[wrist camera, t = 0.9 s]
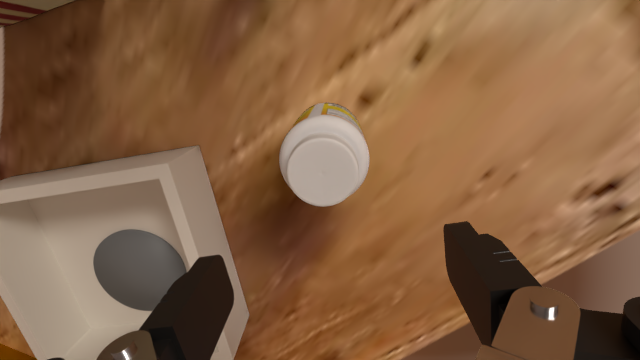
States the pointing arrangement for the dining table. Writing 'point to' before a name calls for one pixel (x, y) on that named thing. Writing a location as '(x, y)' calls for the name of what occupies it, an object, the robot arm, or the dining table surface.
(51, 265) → the box
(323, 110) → the supplement bottle
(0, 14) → the gift box
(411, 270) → the dining table surface
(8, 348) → the element tile
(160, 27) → the dining table surface
